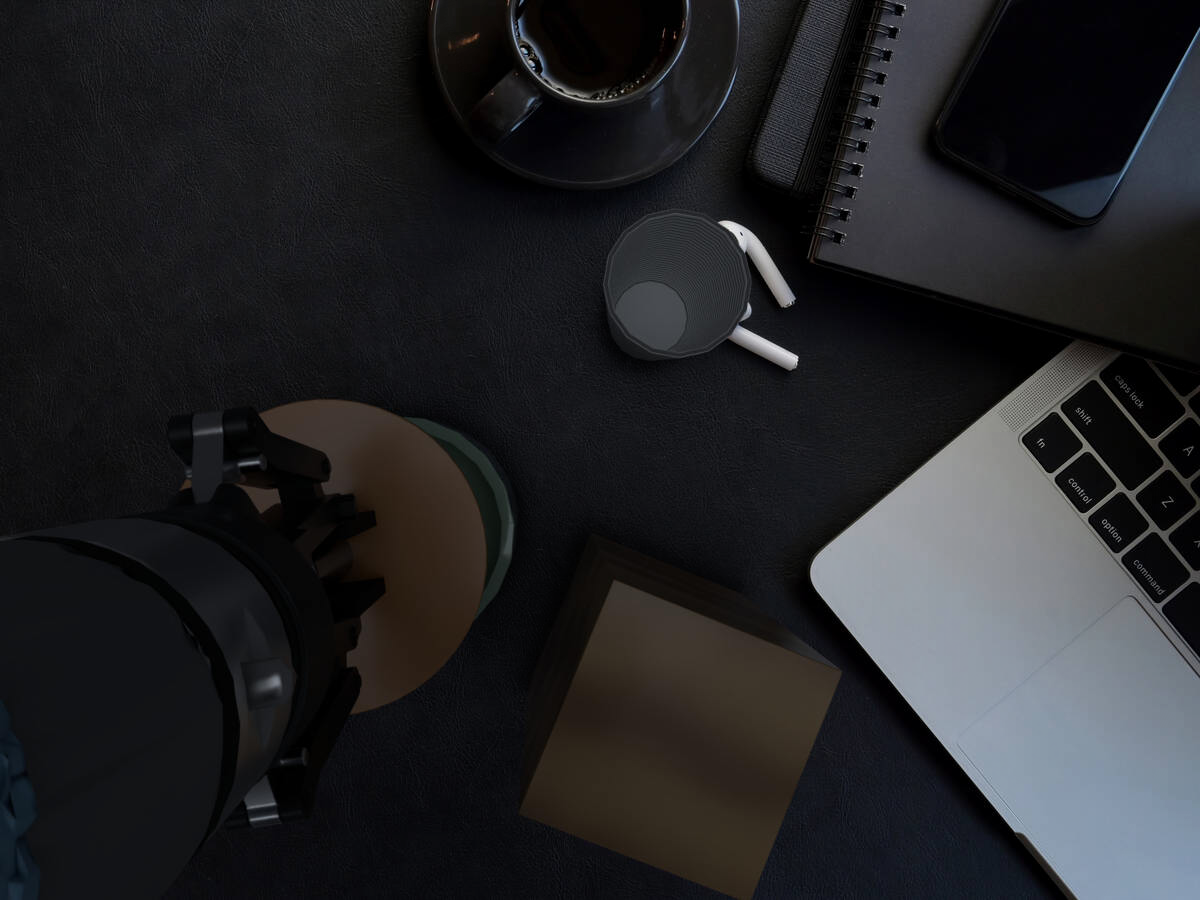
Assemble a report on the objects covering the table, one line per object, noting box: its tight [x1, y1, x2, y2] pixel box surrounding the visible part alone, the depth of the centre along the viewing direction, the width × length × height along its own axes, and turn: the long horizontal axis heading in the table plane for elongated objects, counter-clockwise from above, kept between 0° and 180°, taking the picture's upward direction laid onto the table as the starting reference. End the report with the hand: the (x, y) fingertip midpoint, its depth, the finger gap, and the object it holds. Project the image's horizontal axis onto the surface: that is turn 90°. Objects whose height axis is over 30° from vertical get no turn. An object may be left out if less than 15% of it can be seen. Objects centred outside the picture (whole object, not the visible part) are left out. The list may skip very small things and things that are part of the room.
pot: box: [402, 416, 520, 622], centre depth 63 cm, size 15×15×9 cm
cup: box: [602, 207, 753, 362], centre depth 61 cm, size 8×8×16 cm
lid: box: [179, 398, 488, 716], centre depth 42 cm, size 16×16×8 cm
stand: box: [517, 532, 844, 900], centre depth 56 cm, size 12×12×24 cm
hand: (352, 555), depth 45 cm, fingers closed on lid, 3 cm apart
